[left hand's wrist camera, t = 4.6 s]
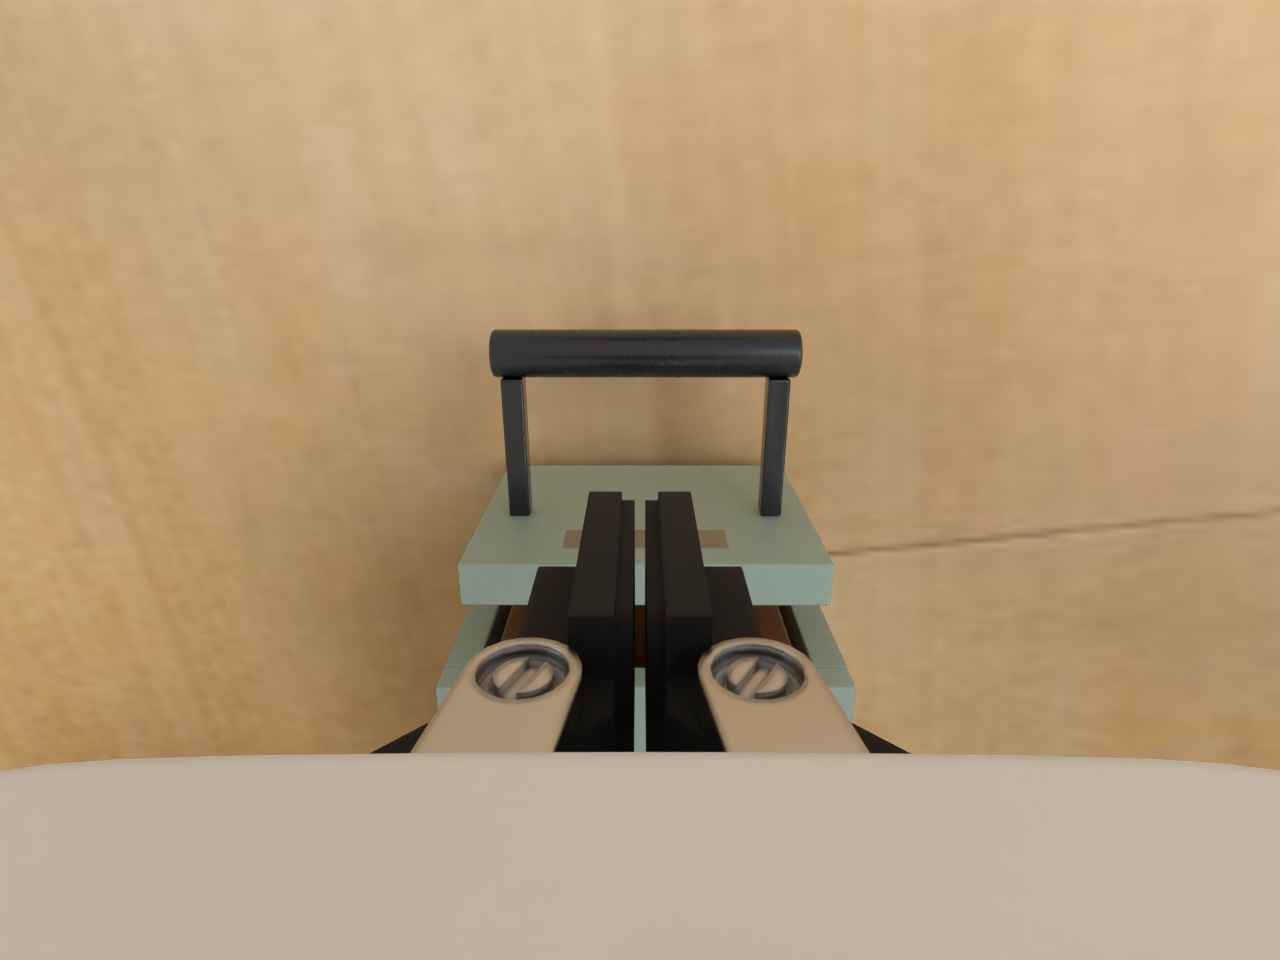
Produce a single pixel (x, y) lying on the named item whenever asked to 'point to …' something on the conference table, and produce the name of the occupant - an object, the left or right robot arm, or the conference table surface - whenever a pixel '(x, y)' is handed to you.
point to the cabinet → (490, 622)
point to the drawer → (647, 475)
